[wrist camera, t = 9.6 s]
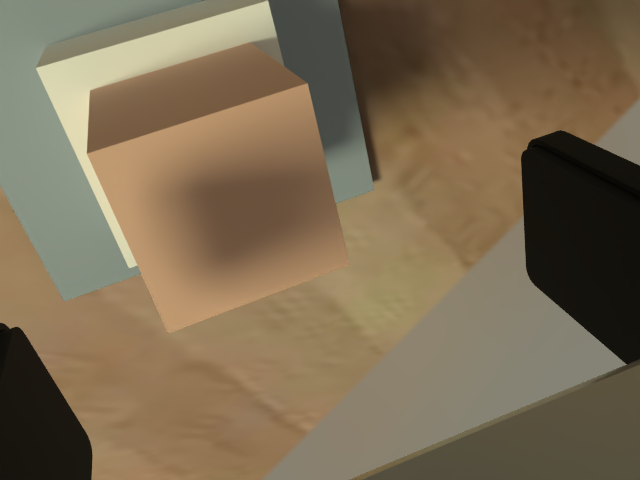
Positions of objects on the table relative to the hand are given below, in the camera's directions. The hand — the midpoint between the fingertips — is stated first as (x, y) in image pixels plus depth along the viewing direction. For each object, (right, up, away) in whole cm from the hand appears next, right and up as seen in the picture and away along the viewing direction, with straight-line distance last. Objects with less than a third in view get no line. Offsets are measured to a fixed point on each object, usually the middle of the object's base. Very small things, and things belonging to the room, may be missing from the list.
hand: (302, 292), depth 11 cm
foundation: (-5, +6, +12) cm, 15 cm away
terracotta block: (-4, +4, +9) cm, 10 cm away
